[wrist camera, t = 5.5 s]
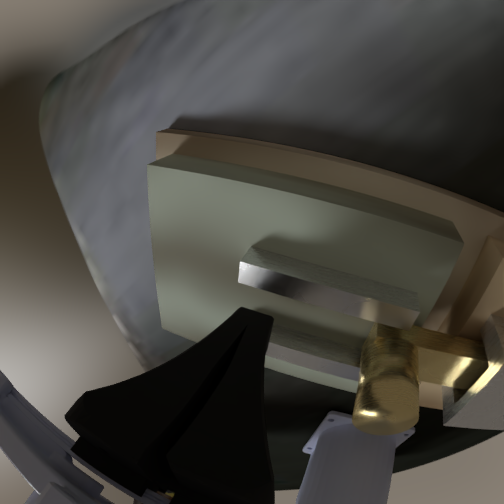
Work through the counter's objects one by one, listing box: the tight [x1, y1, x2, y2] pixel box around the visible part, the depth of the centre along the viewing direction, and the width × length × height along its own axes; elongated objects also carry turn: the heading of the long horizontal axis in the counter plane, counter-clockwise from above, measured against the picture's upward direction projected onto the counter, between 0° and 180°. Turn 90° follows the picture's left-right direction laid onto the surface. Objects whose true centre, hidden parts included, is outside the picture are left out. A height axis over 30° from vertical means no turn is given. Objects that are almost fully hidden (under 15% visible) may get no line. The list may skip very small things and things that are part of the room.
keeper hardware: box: [238, 246, 504, 430], centre depth 10 cm, size 5×17×3 cm, turn 84°
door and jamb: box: [147, 129, 504, 410], centre depth 13 cm, size 12×26×3 cm, turn 84°
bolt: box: [352, 322, 489, 435], centre depth 9 cm, size 2×8×4 cm, turn 84°
